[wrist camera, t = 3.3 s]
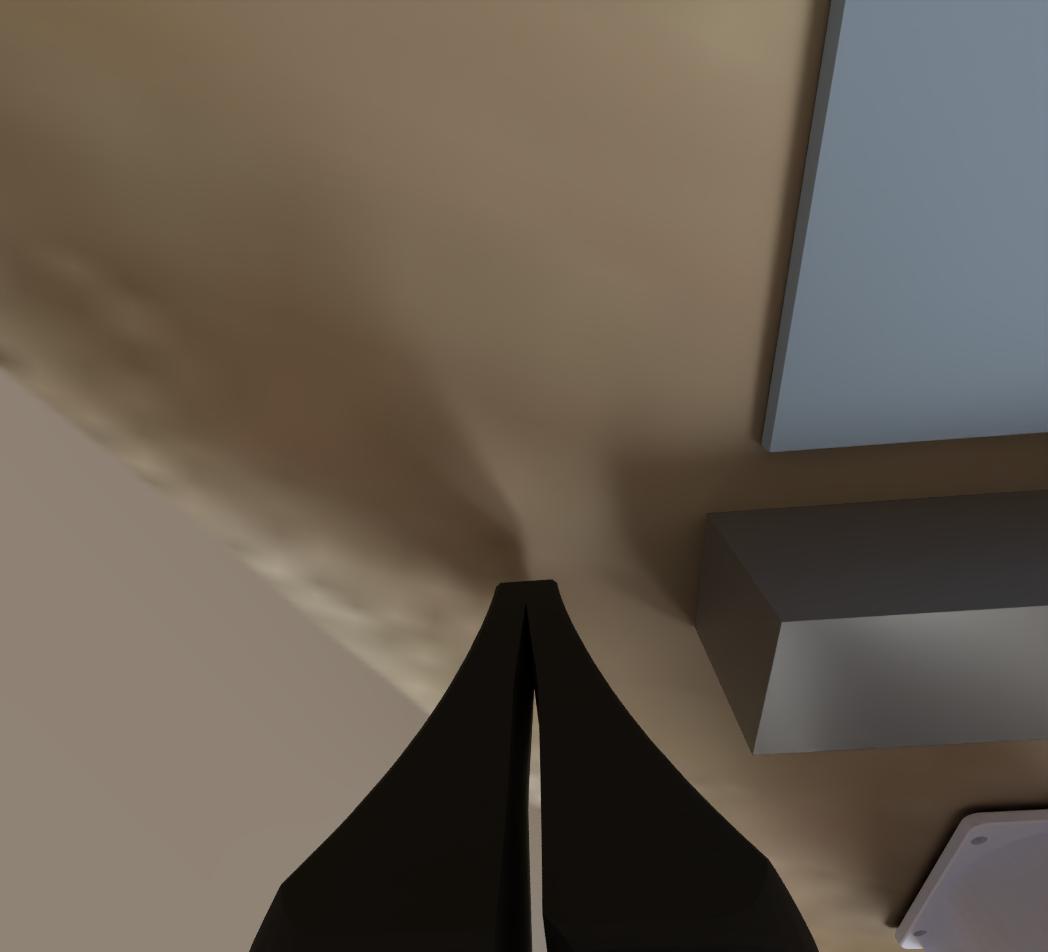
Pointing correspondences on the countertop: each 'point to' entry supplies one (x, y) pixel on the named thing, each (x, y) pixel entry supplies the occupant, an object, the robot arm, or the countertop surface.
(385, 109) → the countertop surface
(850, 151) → the mat
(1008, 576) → the plug
